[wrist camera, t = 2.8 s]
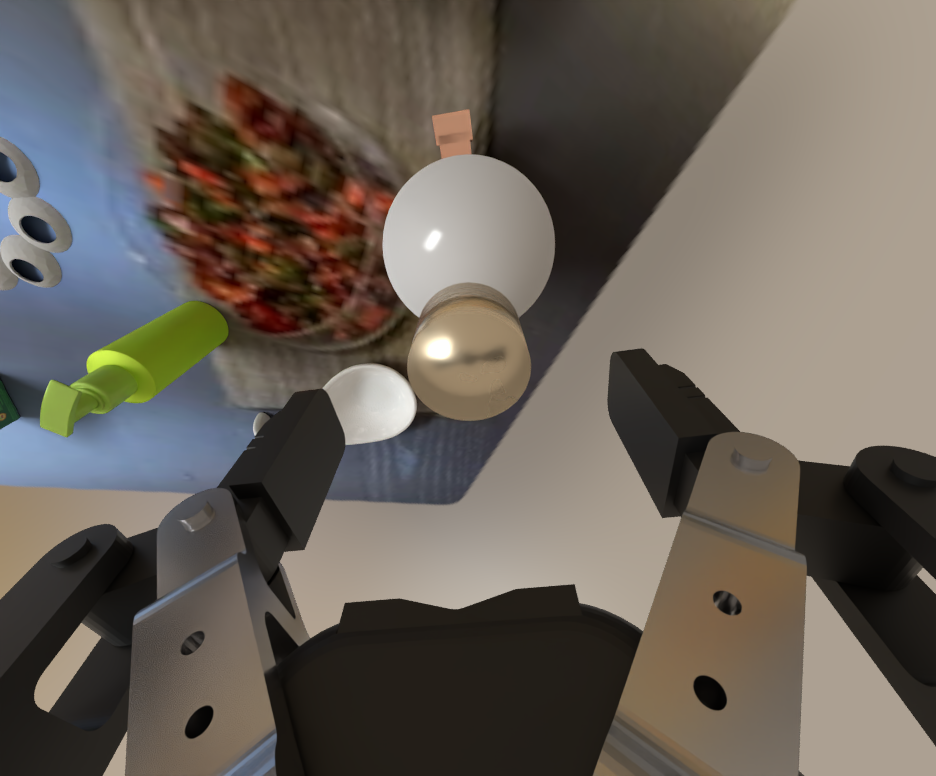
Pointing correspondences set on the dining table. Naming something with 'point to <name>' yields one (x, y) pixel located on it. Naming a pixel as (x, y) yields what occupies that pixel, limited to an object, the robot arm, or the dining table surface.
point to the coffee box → (6, 408)
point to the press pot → (467, 225)
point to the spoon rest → (368, 403)
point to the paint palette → (23, 246)
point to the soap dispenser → (135, 365)
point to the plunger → (469, 353)
